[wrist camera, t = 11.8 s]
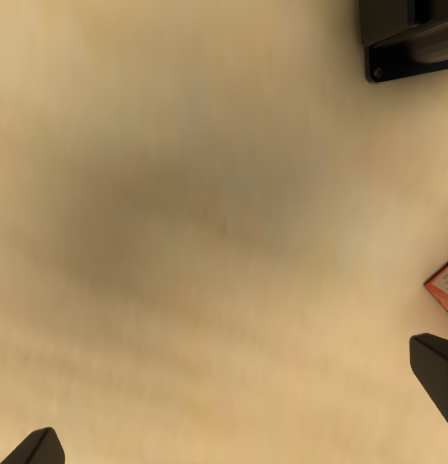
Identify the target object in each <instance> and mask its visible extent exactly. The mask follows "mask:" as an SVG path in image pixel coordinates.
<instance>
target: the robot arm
mask: <svg viewBox="0 0 448 464" xmlns="http://www.w3.org/2000/svg"><path fill="white" fill-rule="evenodd" d="M359 8H360V24H361V40H362V44H363V45H364V47H365V63H366V77H367V80H368V81H369V82H370V83H380V82H385V81H390V80H395V79H400V78H405V77H410V76H415V75H420V74H425V73H430V72H435V71H440V70H445V69H448V0H359ZM376 69H377V70H378V71H379V76H378V77H375V75H374V72H375V70H376ZM409 347H410V365H411V368H412V370H413V372H414V374H415V376H416V377H417V378H418V380H419V381H420V383H421V384H422V386H423V387H424V389H425V390H426V392H427V393H428V395H429V396H430V398H431V399H432V401H433V402H434V403H435V405H436V406H437V408H438V409H439V411H440V412H441V414H442V415H443V417H444V418H445V420H446V421H447V422H448V340H447V339H444V338H441V337H438V336H435V335H432V334H429V333H422V334H418V335H414V336H412V337H411V338H410V340H409ZM0 464H65V454H64V450H63V448H62V446H61V443H60V441H59V439H58V437H57V434H56V432H55V430H54V429H53V428H52V427H46V428H42V429H38V430H35V431H33V432H32V433H31V434H29V435H28V436H27V437H26V438H25V439H24V440H23V441H22V442H21V443H20V444H19V445H18V446H17V447H16V448H15V449H14V450H13V451H12V452H11V453H10V454H9V455H8V456H7V457H6V458H5V459H4V460H3V461H2V462H1V463H0Z"/></svg>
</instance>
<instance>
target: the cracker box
mask: <svg viewBox="0 0 448 464" xmlns="http://www.w3.org/2000/svg"><path fill="white" fill-rule="evenodd" d="M425 287H426V288H427V289H428V290H429V291H430V292H431V293H432V294H433V295H434V297H435V298H436V299H437V300H438V301H439V302H440V303H441V304H442V306H443V307H444V308H445V309H446V310H447V311H448V266H447V267H446V268H445V269H444V270H442V271H441V272H440V273H439V274H438V275H437V276H436V277H434V278H433V279H432V280H431V281H430V282H429V283H427V284H426V286H425Z"/></svg>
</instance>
